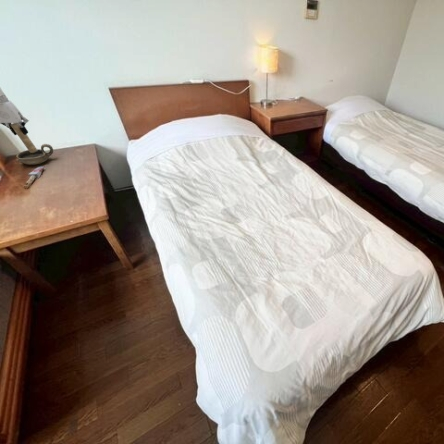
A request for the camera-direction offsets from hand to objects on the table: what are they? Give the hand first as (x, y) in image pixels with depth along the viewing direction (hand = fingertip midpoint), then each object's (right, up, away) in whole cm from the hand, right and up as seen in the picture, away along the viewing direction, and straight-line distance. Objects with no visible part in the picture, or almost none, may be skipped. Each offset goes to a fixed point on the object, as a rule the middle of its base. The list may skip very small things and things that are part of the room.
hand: (21, 133), depth 137 cm
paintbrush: (+8, -25, 0) cm, 26 cm away
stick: (-1, -8, +7) cm, 11 cm away
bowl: (-1, -13, +12) cm, 18 cm away
